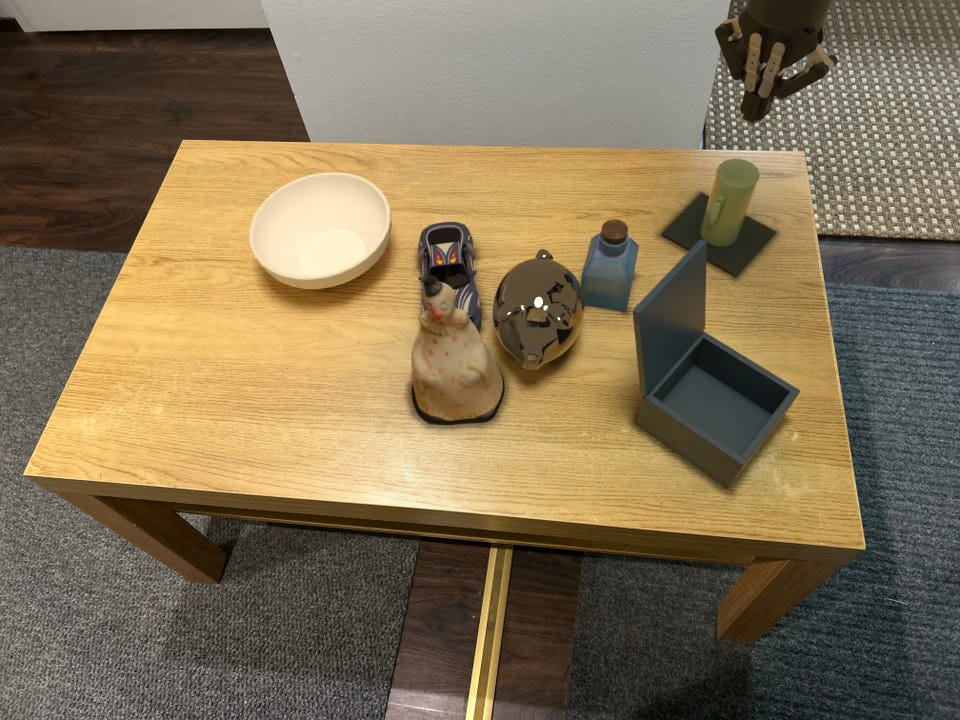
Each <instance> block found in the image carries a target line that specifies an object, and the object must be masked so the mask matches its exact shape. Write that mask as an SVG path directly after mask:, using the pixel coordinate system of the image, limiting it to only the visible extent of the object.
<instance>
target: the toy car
mask: <svg viewBox="0 0 960 720" xmlns="http://www.w3.org/2000/svg"><path fill="white" fill-rule="evenodd" d="M418 257H419V262H420V266H421V276H418V280H419V281H420V282H421V287H422V288H421V293H422V294H421V298H422V299H421V311H422V313H423V312H425V311H428V309H427V307H426V305H425V303H424V300H423V294H424V290H425V286H424V284H423V282H424V281H425V280H426V278H427V277H428V275H431V276H435V277H436V278H437V279H438V281H439V282H442V283H445V284H447V285H449V286H450V287H451V288H452V289H453V290H454V292H455V294H456V299H455V304H454V307H455V308H457V309H462V310H464V311H466V312H467V315H468V317H469V319H470V320H471V322H472V323H473V324H474V325H475V327H476V328H477V330H478V332H479V333H480V332H481V328H482V307H481V299H480V294H479V289H478V283H477V282H478V281H477V276H476V274H478V270H477V269H476V262H475V261H476V260H475V258H476V257H475V248H474V239H473V236H472V233H471V231H470V230H469V227H467V225H466V224H464V223H462V222H458V221H441V222H437V223H432V224H430V225H428V226H426V227H425V228H423V229H422V230H421V233H420V235H419V241H418Z"/></svg>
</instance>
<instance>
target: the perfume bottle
mask: <svg viewBox="0 0 960 720" xmlns="http://www.w3.org/2000/svg"><path fill="white" fill-rule="evenodd" d="M628 232H629V227H628V225H627V223H626V222H624V221H623V220H621V219H618V218H617V219H615V218H612V219H608V220H606V221H605V222H604V223H603V224H602V225H601V230H600V232H599V233H597V234H596V235H594V236H593V237H591V238H590V241H589V245H588V249H587V254H586V256H585V261H584V265H583V269H582V272H581V281H580V286H581V289H582V292H583V296H584V306H589V307H595V308H599V309H605V310H612V311H618V312H623V313H627V309H628V306H629V305H628V304H629V301H630V300H629V299H630V297H631V290H632V286H633V280H634V275H635V269H636V264H637V259H638V253H639V248H640V245H639V244H638V243H637V242H636V241H635V240H634V239H633V238H632V237H629V233H628Z"/></svg>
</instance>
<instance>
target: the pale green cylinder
mask: <svg viewBox="0 0 960 720" xmlns="http://www.w3.org/2000/svg"><path fill="white" fill-rule="evenodd" d="M760 177H761V175H760V171H759V168H758V167H757V166H756V165H755V164H753V162H750V161H749V160H746V159H743V158H731V159H727V160H724V161H723V162H721V163H720V164H719V165H718V166H717V169H716V172H715V175H714V179H713V182H712V186H711V190H710V192H709V195H708V196H709V200H708V203H707V207H706V210H705V214H704V217H703V221H702V224H701V228H700V234H701V237H702V238H703V239H704V240H705V241H706V242H707V243H709V244H711V245H713V246H718V247H724V246H729V245H731V244H733V243H734V242H735V241H736V240H737V238H738V236H739V233H740V230H741V227H742V225H743V222H744V219H745V216H747V214H748V211H749V208H750V205H751V202H752V199H753V197H754V194H755V191H756V189H757V186H758V183H759V180H760Z"/></svg>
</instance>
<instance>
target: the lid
mask: <svg viewBox="0 0 960 720" xmlns="http://www.w3.org/2000/svg"><path fill="white" fill-rule="evenodd" d="M706 257H707V242H706V241H704V240H701V239H700V240H699V241H698V242H697V243H696V244H695V245H694V246H693V247H692V248H691V249H690V250H689V251H688V250H687V253H685V254H684V255H683V257H681V258H680V260H679V261H678V262H677V263H676V264H675V265H674V266H673V267H672V268H671V269H670V270H669V271H668V272H667V273H666V274H665V275H664V277H662V278H661V280H660V281H659V282H658V283H656V285H655V286H654V287H652V288H651V290H650V291H649V292H648V293H647V294H646V295H645V297H643V298H642V300H641V301H640V302H639V303H638V304H637V305H636V306H635V307H634V308H633V309H632V320H633V330H634V331H633V332H634V340H635V341H634V342H635V351H636V361H637V372H638V381H639V382H638V383H639V392H640V393H641V394H643V396H644V395H647V394H648V393H649V392H650V391H651V389H652V388H653V387H654V386H655V385H656V384H657V383H658V382H659V380H660V379H661V378H662V377H663V376H664V375H665V374H666V373H667V371H668V370H669V369H670V368H671V367H672V366H673V365H674V363H675V362H676V361H677V360H678V359H679V358H680V357H681V356H682V354H683V353H684V352H685V351H686V350H687V349H688V348H689V346H690V345H691V344H692V343H693V342H694V341H695V340H696V339H697V337H698V336H699V335H700V334H701V333H702V332H703V331H704V332H705V330H706V310H707V309H706V305H707V304H706V303H707V302H706V301H707V300H706V299H707V261H706Z"/></svg>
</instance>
